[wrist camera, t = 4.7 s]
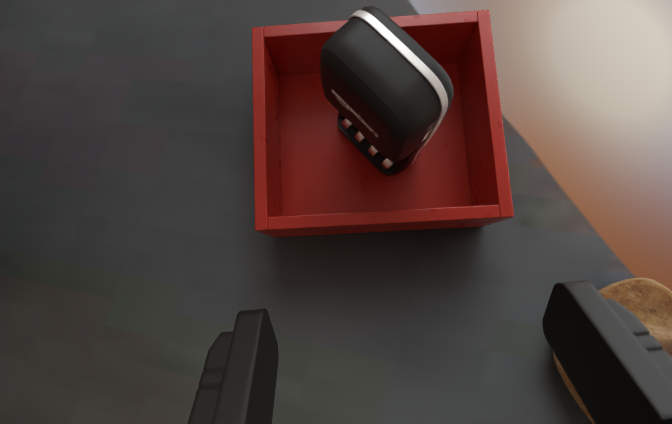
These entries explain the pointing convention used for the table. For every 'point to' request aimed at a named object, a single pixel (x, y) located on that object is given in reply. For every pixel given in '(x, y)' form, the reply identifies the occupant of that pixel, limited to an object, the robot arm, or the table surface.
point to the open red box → (350, 164)
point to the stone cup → (649, 307)
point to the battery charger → (383, 89)
